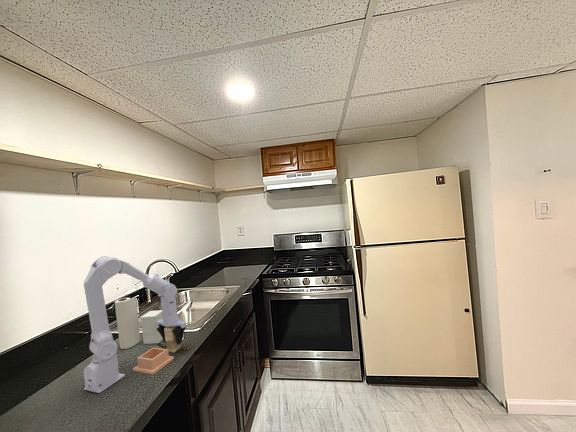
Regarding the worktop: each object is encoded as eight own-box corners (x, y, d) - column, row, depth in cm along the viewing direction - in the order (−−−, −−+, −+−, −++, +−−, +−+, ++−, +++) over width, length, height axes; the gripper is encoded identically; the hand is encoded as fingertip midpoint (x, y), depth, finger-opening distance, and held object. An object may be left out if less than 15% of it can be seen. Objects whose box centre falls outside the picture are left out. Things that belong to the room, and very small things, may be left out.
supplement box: (167, 335, 127) (164, 309, 127) (158, 343, 120) (155, 316, 119) (152, 336, 128) (149, 310, 127) (143, 344, 120) (139, 317, 120)
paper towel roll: (117, 350, 117) (111, 302, 116) (124, 343, 123) (118, 298, 122) (134, 348, 118) (129, 300, 117) (140, 341, 124) (135, 296, 123)
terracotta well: (153, 374, 96) (151, 362, 96) (133, 371, 100) (131, 359, 100) (174, 359, 106) (172, 348, 105) (155, 356, 109) (154, 345, 109)
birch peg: (173, 352, 111) (171, 328, 110) (166, 351, 112) (163, 328, 112) (181, 347, 114) (178, 324, 114) (173, 346, 116) (171, 323, 116)
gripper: (189, 308, 114) (193, 339, 114) (164, 306, 119) (167, 336, 120) (177, 315, 107) (181, 348, 108) (150, 313, 112) (154, 344, 113)
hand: (173, 342), depth 113 cm, fingers open, 6 cm apart
